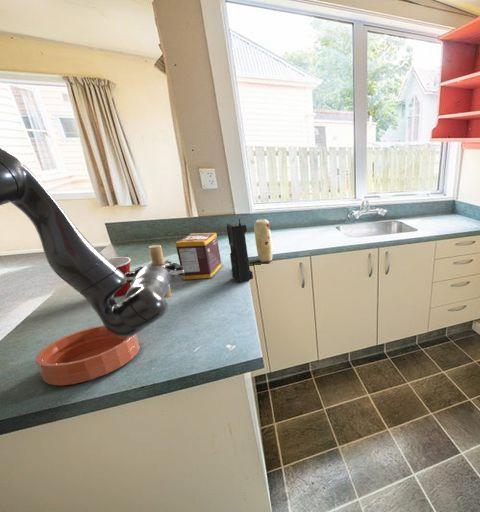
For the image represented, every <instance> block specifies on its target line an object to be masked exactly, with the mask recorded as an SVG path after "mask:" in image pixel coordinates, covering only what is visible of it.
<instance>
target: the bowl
mask: <svg viewBox="0 0 480 512" xmlns="http://www.w3.org/2000/svg"><path fill="white" fill-rule="evenodd" d="M140 348H141V346H140V342H139V339H138V335H137V334H135V335H133V336H130V337H120V336H117V335H114V334H112V333H111V332H110V331H109V330H108V329H107V328H106V327H105V326H104V324H102V325H98V326H92V327H88V328H85V329H82V330H79V331H75V332H72V333H70V334H68V335H65V336H63V337H61V338H58V339H57V340H55V341H53V342H51V343H50V344H48V345H46V346H45V347H43V348H42V349H40V351H39V352H38V353H37V354H36V356H35V361H34V362H35V364H36V366H37V367H36V368H37V369H38V371H39V373H40V376H41V378H42V381H43V382H45V383H46V384H47V385H52V386H68V385H76V384H79V383H84V382H88V381H91V380H94V379H97V378H99V377H102V376H105V375H107V374H109V373H111V372H113V371H115V370H117V369H120V368H121V367H123V366H124V365H126V364H127V363H128V362H130V361H132V360H133V359H134V358H135V356H136V355H137V354H138V353H139V351H140Z"/></svg>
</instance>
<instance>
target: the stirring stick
mask: <svg viewBox="0 0 480 512" xmlns="http://www.w3.org/2000/svg"><path fill="white" fill-rule="evenodd" d="M148 251H149V255H150V258H151V263H153V266H161V265H164V263H165V257H164V253H163V249H162V245H161V244H153V245H150V246H148ZM172 296H173V295H172V290H171V284H170V285H169V288H168V290H167V293H166V294H165V296H164V299H168V298H171V297H172Z"/></svg>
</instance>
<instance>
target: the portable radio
mask: <svg viewBox="0 0 480 512" xmlns="http://www.w3.org/2000/svg"><path fill="white" fill-rule="evenodd" d="M226 231H227V239H228V245H229V247H230V253H229V257H230V264H231V266H230V267H231V277H232V278H233V279H234V280H235V281H237V283H244V282H248V281H250V280H252V279H254V275H253V274H254V273H253V271H252V270H251V268H250V261H249V255H248V247H247V240H246V233H247V232H248V230H247V225H246V224H245V223H242V222H241V218H238V222H233V223H232V222H231V223H230V222H229V223H227V224H226Z"/></svg>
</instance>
